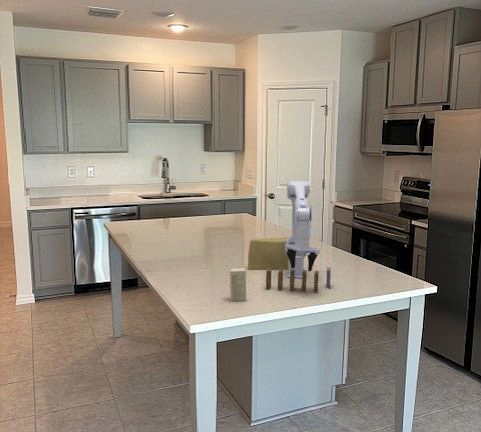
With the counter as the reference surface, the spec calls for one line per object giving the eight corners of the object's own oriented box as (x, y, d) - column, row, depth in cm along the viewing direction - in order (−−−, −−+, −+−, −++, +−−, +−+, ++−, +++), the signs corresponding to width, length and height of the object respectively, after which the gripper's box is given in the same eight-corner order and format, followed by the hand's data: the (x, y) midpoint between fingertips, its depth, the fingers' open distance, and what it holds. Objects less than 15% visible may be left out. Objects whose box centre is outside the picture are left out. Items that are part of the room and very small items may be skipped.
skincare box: (245, 297, 193) (246, 267, 191) (246, 301, 189) (246, 270, 187) (229, 297, 193) (230, 267, 191) (229, 301, 189) (230, 270, 187)
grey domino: (326, 288, 206) (326, 270, 205) (326, 284, 211) (326, 267, 210) (329, 288, 206) (330, 270, 204) (330, 285, 211) (330, 267, 209)
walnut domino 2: (277, 290, 203) (278, 271, 201) (278, 286, 208) (279, 268, 206) (281, 290, 202) (281, 272, 201) (282, 287, 207) (283, 269, 206)
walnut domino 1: (265, 289, 204) (266, 271, 202) (267, 286, 209) (267, 268, 207) (269, 289, 203) (270, 271, 202) (271, 286, 208) (271, 268, 207)
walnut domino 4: (301, 291, 201) (302, 273, 200) (302, 288, 206) (302, 270, 205) (305, 292, 201) (306, 273, 199) (306, 288, 206) (306, 270, 204)
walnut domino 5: (313, 292, 200) (314, 274, 199) (314, 289, 205) (314, 270, 204) (317, 293, 200) (318, 274, 199) (317, 289, 205) (318, 271, 203)
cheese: (250, 272, 229) (251, 241, 227) (245, 267, 239) (246, 237, 236) (294, 269, 235) (295, 239, 232) (288, 264, 244) (289, 235, 241)
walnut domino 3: (289, 291, 202) (290, 272, 201) (290, 287, 207) (291, 269, 205) (293, 291, 202) (293, 272, 200) (294, 287, 206) (294, 269, 205)
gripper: (282, 236, 197) (281, 268, 199) (315, 240, 189) (314, 274, 192) (289, 233, 203) (288, 264, 205) (322, 237, 195) (320, 270, 198)
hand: (301, 269), depth 199 cm, fingers open, 7 cm apart
